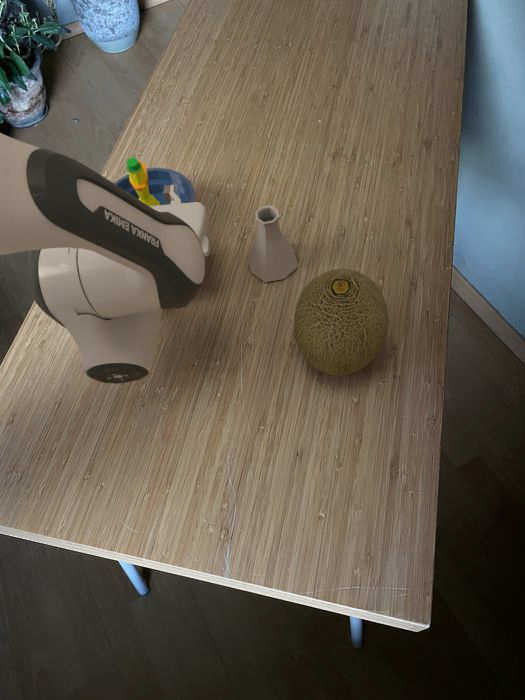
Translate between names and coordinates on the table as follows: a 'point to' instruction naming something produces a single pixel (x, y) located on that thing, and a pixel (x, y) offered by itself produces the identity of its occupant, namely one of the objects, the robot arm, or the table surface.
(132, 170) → the toy figure
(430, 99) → the table surface
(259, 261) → the flask
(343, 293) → the fruit
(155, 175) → the bowl
